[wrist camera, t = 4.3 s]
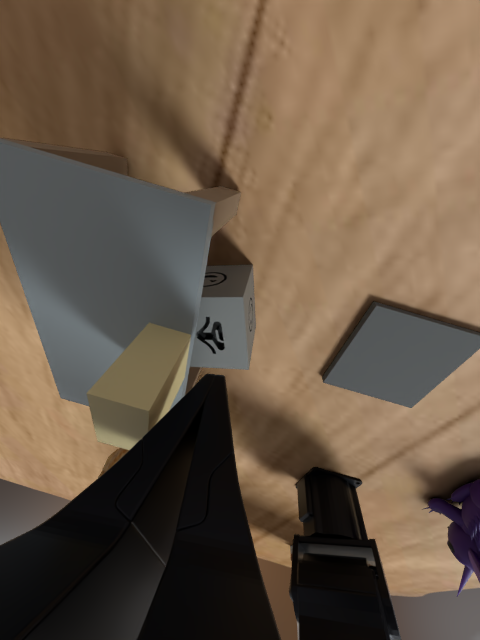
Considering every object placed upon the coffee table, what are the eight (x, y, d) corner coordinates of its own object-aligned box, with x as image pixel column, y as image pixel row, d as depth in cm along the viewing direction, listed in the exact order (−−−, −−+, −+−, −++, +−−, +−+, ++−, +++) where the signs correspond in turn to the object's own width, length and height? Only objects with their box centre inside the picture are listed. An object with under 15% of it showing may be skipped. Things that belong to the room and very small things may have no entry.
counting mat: (484, 333, 15) (490, 338, 15) (408, 402, 20) (411, 408, 19) (373, 301, 15) (376, 305, 15) (322, 377, 20) (323, 382, 19)
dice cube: (255, 324, 18) (248, 369, 14) (196, 323, 19) (173, 365, 15) (252, 264, 15) (243, 297, 11) (184, 266, 16) (151, 297, 12)
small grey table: (241, 192, 13) (152, 230, 4) (204, 361, 21) (147, 503, 12) (106, 152, 13) (-303, 96, 4) (121, 336, 21) (-3, 462, 12)
